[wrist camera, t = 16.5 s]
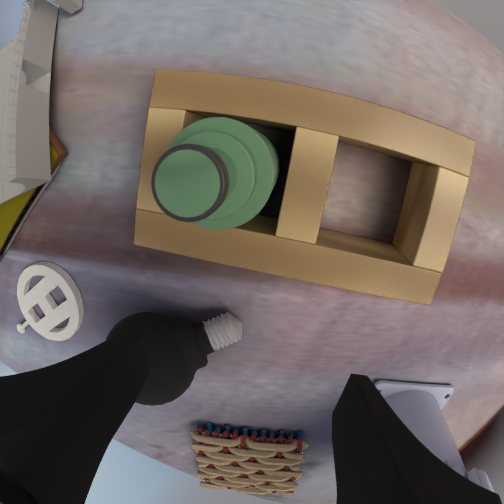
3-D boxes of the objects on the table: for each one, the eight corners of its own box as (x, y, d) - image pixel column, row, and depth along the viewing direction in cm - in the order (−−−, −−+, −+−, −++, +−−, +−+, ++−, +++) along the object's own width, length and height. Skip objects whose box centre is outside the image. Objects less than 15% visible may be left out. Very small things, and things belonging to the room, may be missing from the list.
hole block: (408, 278, 19) (430, 306, 16) (160, 226, 20) (133, 244, 16) (444, 140, 16) (476, 141, 12) (181, 83, 17) (155, 69, 13)
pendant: (45, 247, 21) (51, 244, 22) (-3, 299, 24) (2, 296, 25) (94, 323, 23) (99, 318, 23) (36, 357, 25) (41, 353, 26)
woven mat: (296, 499, 26) (297, 484, 28) (310, 446, 22) (310, 429, 24) (199, 489, 27) (203, 475, 29) (186, 434, 24) (192, 418, 26)
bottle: (272, 208, 19) (251, 274, 9) (201, 194, 19) (113, 243, 9) (286, 135, 18) (281, 117, 8) (213, 123, 18) (127, 99, 8)
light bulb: (270, 380, 18) (121, 432, 16) (253, 351, 24) (138, 394, 23) (228, 281, 18) (73, 342, 16) (221, 275, 24) (103, 322, 22)
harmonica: (-27, 246, 21) (-14, 238, 23) (-11, 271, 22) (2, 262, 23) (36, 124, 16) (53, 122, 18) (58, 154, 17) (74, 151, 19)
